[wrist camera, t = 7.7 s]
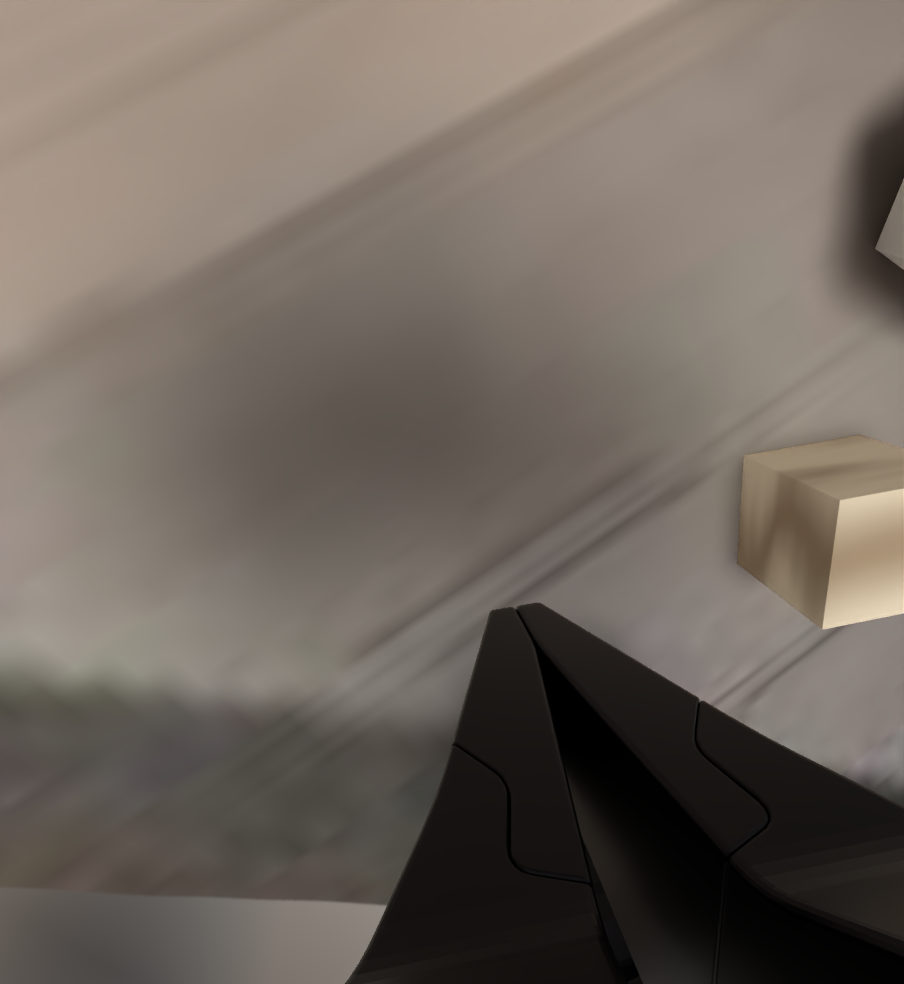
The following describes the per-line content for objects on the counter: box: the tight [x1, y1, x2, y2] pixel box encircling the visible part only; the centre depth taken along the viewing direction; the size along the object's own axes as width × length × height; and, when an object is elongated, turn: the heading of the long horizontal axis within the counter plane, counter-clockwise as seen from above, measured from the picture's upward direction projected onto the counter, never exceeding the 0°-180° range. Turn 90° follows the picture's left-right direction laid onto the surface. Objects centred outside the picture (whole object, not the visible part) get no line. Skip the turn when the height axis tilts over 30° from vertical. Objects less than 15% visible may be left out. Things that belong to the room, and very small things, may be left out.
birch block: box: [737, 435, 904, 630], centre depth 21 cm, size 5×5×5 cm
